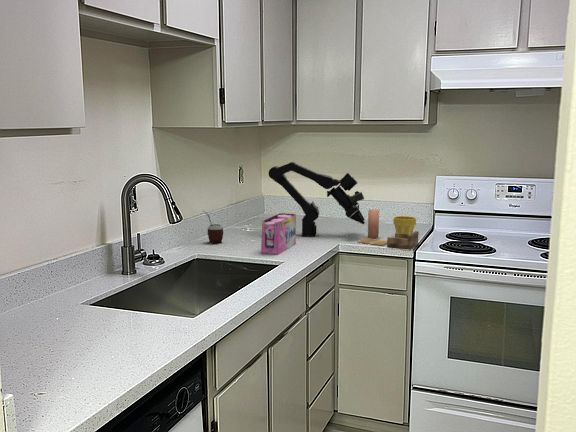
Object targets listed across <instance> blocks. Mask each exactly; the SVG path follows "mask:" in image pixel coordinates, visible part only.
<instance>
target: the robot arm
mask: <svg viewBox="0 0 576 432" xmlns="http://www.w3.org/2000/svg"><path fill="white" fill-rule="evenodd" d="M289 172H293V173H296V174H298V175H301V176H303V177H304V178H308V179H309V180H312V181H313V182H315V183H316V184H317V185H319V186H320V187H321V188H323V189H325V190H326V197H327V198H328V197H329V198H330V196H331V197H332V198H333V199H334V200H335V201H336V202H337V203H338V205H339V206H340V207H342V209H344V211H345V216H346V217H347V218H348V219H351V220H353V221H355V222H357V223H359V224H362V225H365V223H366V222H365V220H366V219H365V217H364V216H363V214H362V212H361V210H360V204H359V201H363V200H365V196H364V194H363V192H362V191H358V190H357V191H354V194H353V195H350V194H347V192H346V191H348V192H349V191H351V190H352V189H353V188H354V187H356V185H358V181H357V180H356V179H355V177H354V176H352V175H351V174H350V173H349V172H346V173H345V175H344V176H343V177H342V178H340V179H336V178H333V177H332V176H330V175H327V174H321V173H317V172H316V171H313V170H311V169H309V168H307V167H304V166H302V165H300V164H298V163H296V162H294V161H290V162H289V163H286V164H284V165H280V166H276V165H275V166H272V167H271V168H270V169H269V170H268V176H269V178H270V179H271V180H272V181H274V182H275V183H277V184H278V185H280V186H281V187H282V188H283V189H284V190H285V192H286V193H288V194H289V196H290V197H292V198H293V200H294V201H295V202H296V203H297V204H298V205H299V206H300V207H301V209H302V211H303V213H304V216H303V217H302V219H301V236H302V237H316V235H317V225H316V220H317V219H318V218H319V215H320V210H319V207H318V205H316V204H315V202H314V201H311V202H310V201H308V200H307V199H306V198H305V197H304V196H303V195H302V193H301V192H299V190H298V189H297V188H296V187H295V186H294V185H293V184H292V183H291V182H290V180H288V178H287V176H286V174H287V173H289Z"/></svg>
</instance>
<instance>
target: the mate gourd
mask: <svg viewBox="0 0 576 432" xmlns="http://www.w3.org/2000/svg"><path fill="white" fill-rule="evenodd" d="M202 212H203V213H205V214H206V217H207V218H208V221H209V223H210V225H208V227H207V237H208V240H209V241H208V244H209V243H210V244H212V245H215V244H223V239H224V238H223V236H224V227H223V226H222V225H221V224H217V223H215V224H214V223H212V220H211V216H210V215H209V213H208V212H206V211H205V210H203V211H202Z"/></svg>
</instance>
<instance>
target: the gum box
mask: <svg viewBox="0 0 576 432" xmlns="http://www.w3.org/2000/svg"><path fill="white" fill-rule="evenodd" d="M296 233H297V214H296V213H286V212H280V213H277V214H275V215H273V216H271V217H270V216H269V217H267V218H266V219H264V220H261V241H260V242H261V244H260V245H261V246H260V247H261V250H260V252H261V254H268V255H269V254H271V255H279V254H280V255H281V254H282V253H283V252H285V251H286V250H288V249H289V248H291V247H293V246H295V245H296V244H297V240H296V239H297V234H296Z"/></svg>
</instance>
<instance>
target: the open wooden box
mask: <svg viewBox="0 0 576 432" xmlns="http://www.w3.org/2000/svg"><path fill="white" fill-rule="evenodd" d="M419 234H420V233H419V231H416V230H415V231H413V233H412V234H404V233H396V232H395V233H394V237H393V236H392V237H391V236H387V240H386V241H387V244H386V247H387V248H390V249H398V250H399V249H401V250H408V251H410V250H413V249H414V248H415V247H417V246H418V245H419Z"/></svg>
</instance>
